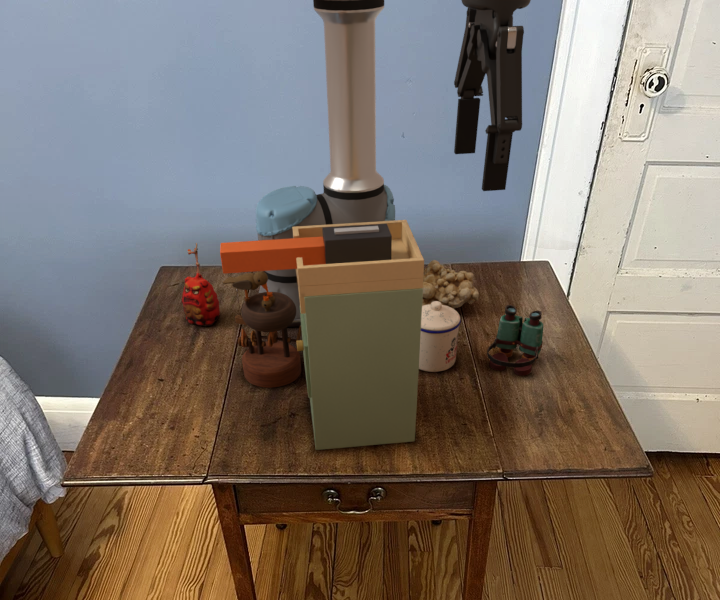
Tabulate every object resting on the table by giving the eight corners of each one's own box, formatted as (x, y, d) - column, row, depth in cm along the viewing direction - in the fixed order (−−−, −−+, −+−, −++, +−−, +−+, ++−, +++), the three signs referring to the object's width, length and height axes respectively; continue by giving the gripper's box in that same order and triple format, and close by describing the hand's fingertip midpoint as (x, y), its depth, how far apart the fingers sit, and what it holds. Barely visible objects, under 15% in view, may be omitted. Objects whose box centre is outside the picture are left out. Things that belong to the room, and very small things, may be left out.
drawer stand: (301, 399, 118) (286, 226, 97) (400, 391, 120) (406, 219, 99) (306, 451, 108) (290, 269, 87) (414, 441, 109) (424, 260, 89)
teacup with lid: (455, 375, 123) (461, 317, 115) (405, 371, 124) (407, 314, 116) (458, 340, 132) (464, 285, 124) (411, 337, 133) (414, 282, 125)
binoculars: (485, 328, 116) (503, 297, 122) (481, 377, 124) (497, 345, 130) (537, 339, 113) (552, 307, 119) (529, 388, 121) (544, 355, 127)
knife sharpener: (223, 261, 95) (219, 230, 92) (386, 251, 97) (386, 220, 94) (223, 275, 92) (218, 244, 89) (391, 264, 94) (391, 233, 91)
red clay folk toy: (178, 324, 138) (163, 253, 128) (196, 308, 143) (183, 238, 132) (211, 330, 136) (198, 258, 126) (228, 314, 141) (217, 243, 130)
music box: (229, 388, 121) (213, 279, 109) (242, 359, 130) (228, 255, 117) (314, 390, 120) (307, 280, 108) (321, 361, 129) (316, 256, 116)
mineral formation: (429, 284, 149) (493, 296, 142) (400, 319, 142) (465, 334, 136) (426, 251, 143) (492, 262, 136) (395, 286, 136) (464, 300, 130)
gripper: (577, -24, 63) (539, 205, 78) (499, -52, 81) (480, 138, 96) (499, -22, 63) (475, 209, 77) (438, -50, 81) (428, 141, 95)
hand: (478, 170), depth 87 cm, fingers open, 13 cm apart
